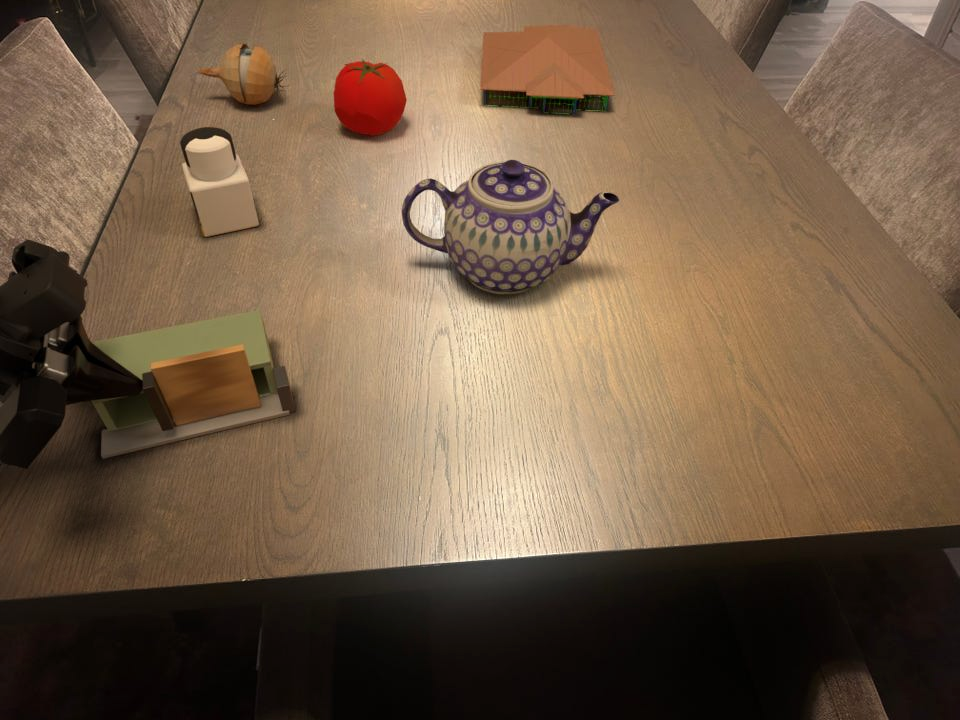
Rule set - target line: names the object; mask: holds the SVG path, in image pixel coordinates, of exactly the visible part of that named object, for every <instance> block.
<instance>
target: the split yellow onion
mask: <svg viewBox="0 0 960 720" xmlns="http://www.w3.org/2000/svg"><path fill="white" fill-rule="evenodd" d="M197 70H198V74H199V75H203V76H206V77H210V78H218V79H220V80H221V81H222V83H223V84H224V86H225V87H226V89H227V91H228V92H229V93H230V96H232V97H233V98H234V99H235V100H237V101H238V102H239V103H241V104H245V105H251V106H252V105H255V106H256V105H259V104H262V103H265V102H267V101H268V100H269V99H270V98H271V97H272V95H273V93H274V92H275V90H276V94H277V96H278V97H280V98H279V99H280V101H282V100H283V101H284V99H283V97H282V95H281V91H282V92H286V91H287V90H285V89H284V88H286V87H290V84H288V85H281V84H280V83H281V82H282V81H283V80H284V78H288V76H287V75H286V74H287V72H286V71H287V70H288V68H285V69H284V70H283V71H281V73H280V74H279V75H278V72H277V68H276V63H275V60H274V59H273V56H272V55H271V54H270V53H269V52H268V51H267V50H266V49H264V48H262V47H260V46H258V45H257V46H255V47H254V48H251V47H249V45H248V44H247V43H246V42H245V41H243V42H241V44H237V45H233V47H231V48H230V49H228V50H227V51H226V52H225V54H224V56H223V58H222V60H221V62H220V65H219V67H207V68H199V69H197ZM284 72H285V74H284V75H282V74H283V73H284ZM281 75H282V76H281ZM280 88H282V89H283V90H282V89H280Z"/></svg>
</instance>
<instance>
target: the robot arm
mask: <svg viewBox="0 0 960 720" xmlns="http://www.w3.org/2000/svg"><path fill="white" fill-rule="evenodd" d="M70 258H71V256H70V253H68V252H67V251H64V250H60V251H59V250H57V249H56V248H54V247H52V246H50V245H47V244H44V243H41V242H39V241H38V242H37V241H35V240H32V239H25V240H24V241H23V242H20V243H19V244H18V245H16V246H14V247H13V250H12V256H11V264H12V267H14V270H15V271H14V270H12V271H10V272H9V273H8V278H7V280H6V281H5V282H4V283H2V284H0V396H2V397H5V395H6V394H7V392H8V391H9V389H10V388H11V387H12V386H13V387H15V388H14V389H13V390H12V392H11V393H10V395H8V397H7V399H6V400H5V402H4V403H3V404H2V405H1V407H0V464H1V465H6V466H12V467H16V468H21V469H26V470H28V469H29V467H30V466H31V465H32V464H33V463H34V461H35V460H36V459H37V457H38V456H39V455H40V454H41V452H42V451H43V450H44V448H45V447H46V446H47V444H49V442H50V441H51V440H52V438H53V437H54V436H55V434H57V432H58V431H59V429H60V428H61V427H62V424H63V422H64V420H65V417H66V409H67V408H66V407H67V406H69V405H75V404H80V403H85V402H91V401H93V400H101V399H109V398H118V397H126V396H135V395H139V394H140V393H141V392H142V391H143V389H142V380H141V379H140V378H138V377H137V376H136V375H134V374H133V373H131V372H130V371H129V370H127V369H126V368H125V367H123V366H122V365H120V364H119V363H118V362H116V361H115V360H113V359H112V358H111V357H109V356H108V355H107V354H105V353H104V352H103V351H101V350H100V349H99V348H98V347H97V346H95V345H94V344H93V342H92V341H91V340H90V338H89V336H88V334H87V331H86V329H85V326H84V324H83V317H82V315H83V313H84V311H85V310H86V308H87V301H86V299H85V293H86V292H85V291H86V287H88V280H87V279H86V278H85V277H84V276H82V275H81V274H80V273H78V270H76V269H74V268H72V267H71V266H70ZM33 365H34V367H33Z"/></svg>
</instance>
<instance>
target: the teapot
mask: <svg viewBox="0 0 960 720" xmlns="http://www.w3.org/2000/svg"><path fill="white" fill-rule="evenodd" d="M425 191H432V192H434V193H436V194H437V195H438V196H439V198H440V200H441V204H442V206H443V209H444V223H443V235H444V236H443V237H441V238H434V237H430V236H428V235H425V234H424V233H422V231H420V230H419V229H418V228H416V226H415V225H414V224H413V222H412V219H411V209H412V205H413V203H414V201H415V199H416V198H417V197H418V196H419V195H420V194H423V192H425ZM619 202H620V198H619V196H617V195H616V194H615V193H613V192H610V191H600V192H599V193H597V194H595V195H594V196H593V197H592V198H591V199H590V200H589V202H588V203H587V204H586V206H584V208H582V210H581V211H579V212H576V213H574V212H571V210H570V209H569V207H568V205H567V203H566V201H565V199H564V197H563V195H561V193H560V191H558V190H557V188H555V187H554V183H553V181H552V178H551V177H550V176H549V174H548V173H546V172H544V171H543V170H541V169H540V168H538V167H536V166H534V165H531V164H527V163H524V162H521V161H519V160H517V159H508V160H506V161H499V162H491V163H487V164H484V165H481V166H480V167H478V168H476V169H475V170H474V171H473V172H472V173H471V174H470V176H469V177H468V179H467V180H465V181H463V182H461V184H459V186H457V187H456V189H454V190H453V191H451V190H450V189H449V188H448V187H446V186H445V185H444V184H442V183H441V182H440V181H438V180H437V179H435V178H425V179H422V180H420V181H419V182H418V183H416V184H415V185H414V186H413V187H412V188H411V189H410V191H408V193H407V194H406V196H405V197H404V199H403V202H402V204H401V220H402V223H403V226H404V229H405V231H406V232H407V233H408V235H409V236H410V238H412V239H413V240H414V241H415V242H417V243H418V244H419V245H421V246H424V247H426V248H429V249H432V250H434V251H438V252H441V253H443V254H446V255H448V258H449V260H450V261H451V263H452V265H454V267H455V269H456V270H457V272H458V273H460V274H461V275H462V276H463V277H465V278H467V280H469V282H470V283H471V284H472V285H473V286H475V287H476V288H477V289H479V290H482V291H484V292H487V293H491V294H495V295H496V294H497V295H516V294H521V293H524V292H526V291H528V290H530V289H532V288H534V287H536V286H538V285H541V284H543V283H544V282H546V281H547V280H549V279H550V278H551V277H552V276H553V275H554V274H555V272H556V271H557V269H559V267H561V266H567V265H570V264H571V263H573V262H574V261H576V260H577V259H578V258H579V257H581V256H582V255H583V253H584V252H585V250H586V249H587V248H588V246H589V244H590V241H591V239H592V237H593V234H594V232H595V229H596V227H597V224H598V222H599V220H600V218H601V216H602V215H603V213H604V212H605V211H606V210H607V209H608V208H610V207H612V206H613V205H615V204H618V203H619Z"/></svg>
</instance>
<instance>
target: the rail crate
mask: <svg viewBox="0 0 960 720" xmlns="http://www.w3.org/2000/svg"><path fill="white" fill-rule="evenodd" d="M92 343H93V344H94V345H95V346H97V347H98V348H99V349H100V350H101V351H103V352H104V353H105V354H107V355H108V356H109V357H111V358H112V359H113V360H115V361H116V362H118V363H119V364H120V365H122V366H123V367H125V368H126V369H127V370H129V371H130V372H131V373H133V374H134V375H136V376H137V377H138V378H140V379H141V380H142V373H146V372H151V363H154V362H159V361H164V360H169V359H174V358H179V357H183V356H188V355H193V354H198V353H203V352H208V351H213V350H218V349H223V348H227V347H232V346H237V345H242V344H243V345H244V348H245V351H246V355H247V358H248V362H249V365H250V368H251V372H252V375H253V378H254V382H255V385H256V388H257V392H258V395H259V399H260V403H261V406H260V407H256V408H252V409H248V410H243V411H239V412H234V413H230V414H226V415H221V416H217V417H213V418H208V419H204V420H200V421H195V422H191V423H187V424H182V425H178V426H176V424H175V422H174V419H173V426H174V428H173V429H170V430H166V431H162V429H161V427H160V425H159V423H158V420H157V418H156V416H155V414H154V412H153V410H152V408H151V406H150V404H149V402H148V400H147V398H146V395H145V393H144V391H142V392H141V393H140V394H139V395H135V396H126V397H118V398H109V399H101V400H93V401H90V402H91V404H92V405H93V407H94V408H95V411H96V412H97V414H98V416H99V417H100V419H101V421H102V422H103V424H104V426H105V427H106V428H105V429H102V430H101V439H100V440H101V441H100V442H101V444H100V456H101V459H107V458H113V457H117V456H120V455H125V454H129V453H133V452H138V451H142V450H146V449H150V448H153V447H154V448H155V447H159V446H163V445H167V444H172V443H177V442H179V441H180V442H181V441H183V440H189V439H194V438H197V437H202V436H205V435H210V434H214V433H218V432H221V431H222V432H223V431H227V430H231V429H236V428H239V427H244V426H247V425H253V424H257V423H261V422H264V421H269V420H275V419H277V418H282V417H285V416H290V415H291V413H296V406H295V402H294V398H293V393H292V389H291V385H290V380H289V376H288V372H287V368H286V365H281V366H276V367H275V366H274V362H273V361H274V360H273V356H272V352H271V351H272V350H271V345H270V342H269V339H268V335H267V331H266V327H265V323H264V319H263V314H262V311H261V309H256V310H251V311H246V312H239V313H235V314H230V315H223V316H219V317H213V318H209V319H203V320H198V321H194V322H193V321H192V322H188V323H183V324H182V323H181V324H177V325H172V326H168V327H163V328H162V327H161V328H157V329H152V330H151V329H150V330H146V331H142V332H141V331H140V332H136V333H131V334H126V335H120V336H116V337H109V338H105V339H100V340H95V341H93V342H92Z"/></svg>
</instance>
